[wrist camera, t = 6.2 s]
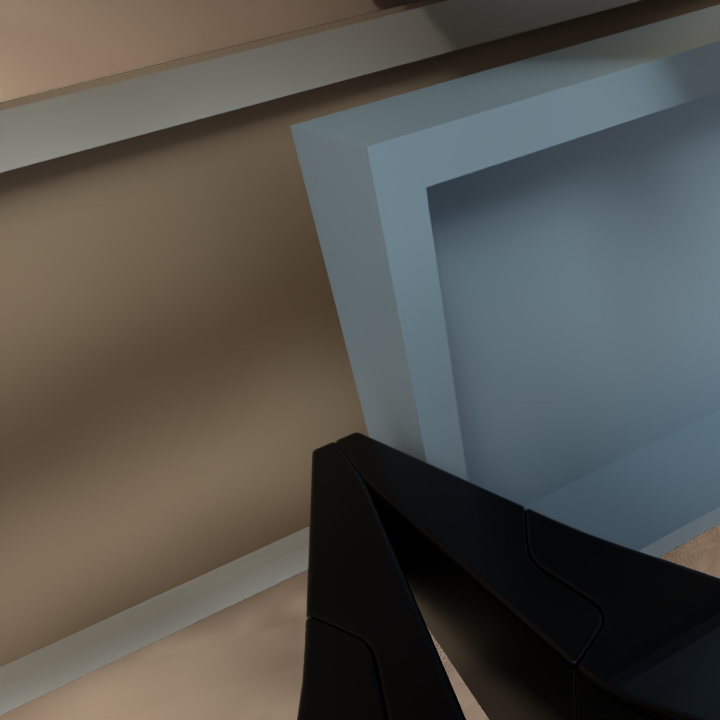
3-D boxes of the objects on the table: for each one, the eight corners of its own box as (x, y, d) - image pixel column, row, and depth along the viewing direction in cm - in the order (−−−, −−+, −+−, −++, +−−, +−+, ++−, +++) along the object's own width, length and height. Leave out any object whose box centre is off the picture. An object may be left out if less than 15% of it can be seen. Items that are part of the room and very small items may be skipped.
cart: (797, 304, 18) (996, 370, 14) (367, 501, 15) (465, 664, 11) (877, -53, 13) (1219, -111, 9) (259, 117, 10) (366, 146, 6)
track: (768, 314, 20) (814, 331, 19) (-109, 713, 14) (-132, 781, 12) (850, -104, 14) (927, -122, 13) (-668, 264, 8) (-830, 303, 6)
